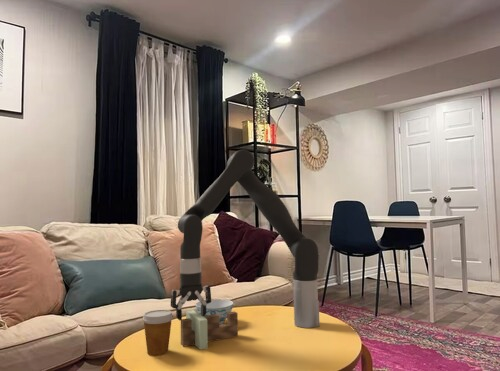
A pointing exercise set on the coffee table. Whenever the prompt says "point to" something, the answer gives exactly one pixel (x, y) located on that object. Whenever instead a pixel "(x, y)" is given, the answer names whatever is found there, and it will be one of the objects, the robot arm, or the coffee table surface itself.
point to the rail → (210, 328)
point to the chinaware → (217, 308)
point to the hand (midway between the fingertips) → (191, 317)
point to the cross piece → (198, 328)
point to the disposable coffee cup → (157, 331)
